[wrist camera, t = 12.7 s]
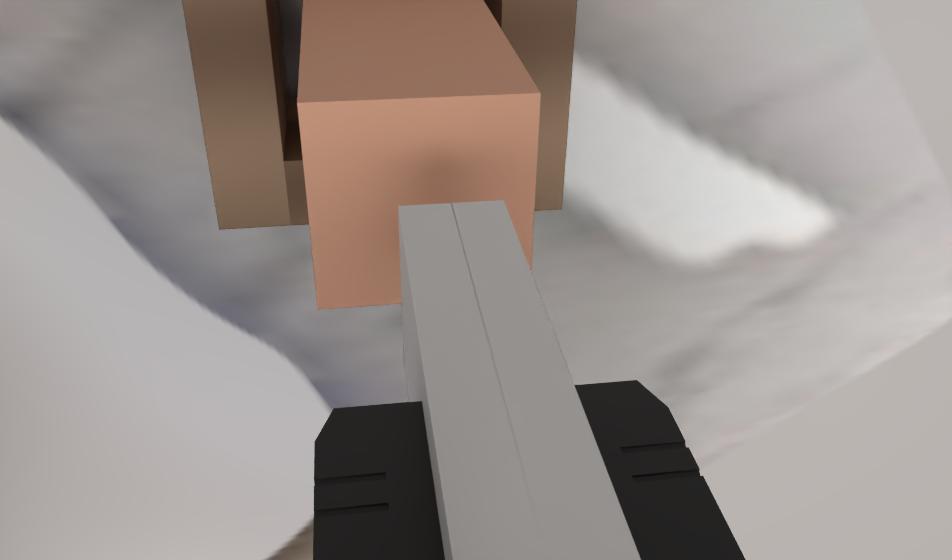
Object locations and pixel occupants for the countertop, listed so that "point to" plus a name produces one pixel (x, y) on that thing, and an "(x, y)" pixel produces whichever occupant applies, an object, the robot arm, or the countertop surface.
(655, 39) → the countertop surface
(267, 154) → the socket block
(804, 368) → the countertop surface
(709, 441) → the countertop surface
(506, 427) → the robot arm
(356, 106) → the peg
